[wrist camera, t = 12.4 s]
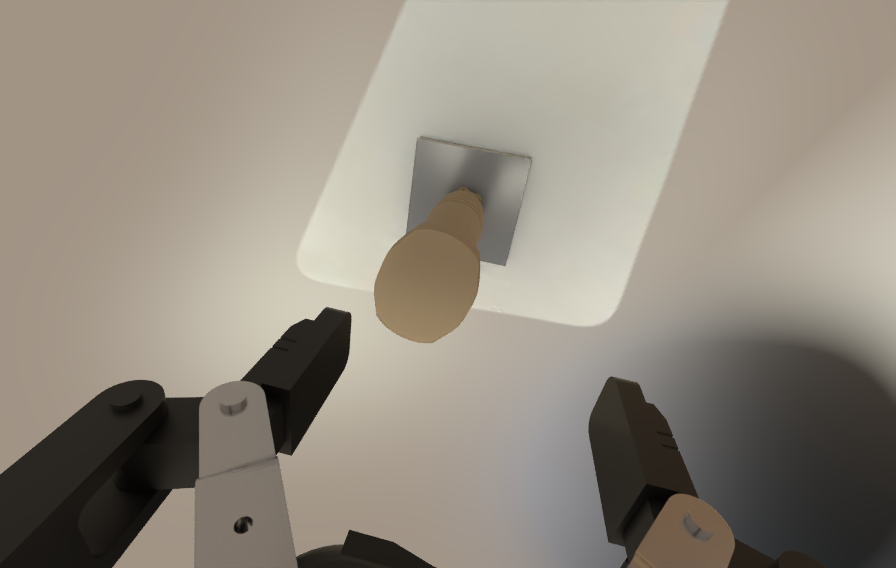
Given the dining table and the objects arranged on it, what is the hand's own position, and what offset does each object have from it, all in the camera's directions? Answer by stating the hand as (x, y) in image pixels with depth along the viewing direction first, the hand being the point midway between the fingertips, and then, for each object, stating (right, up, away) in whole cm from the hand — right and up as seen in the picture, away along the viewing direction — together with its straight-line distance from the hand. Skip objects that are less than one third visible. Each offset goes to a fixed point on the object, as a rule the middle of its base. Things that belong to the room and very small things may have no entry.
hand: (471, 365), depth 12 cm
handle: (+1, +9, +21) cm, 23 cm away
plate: (+1, +9, +22) cm, 24 cm away
